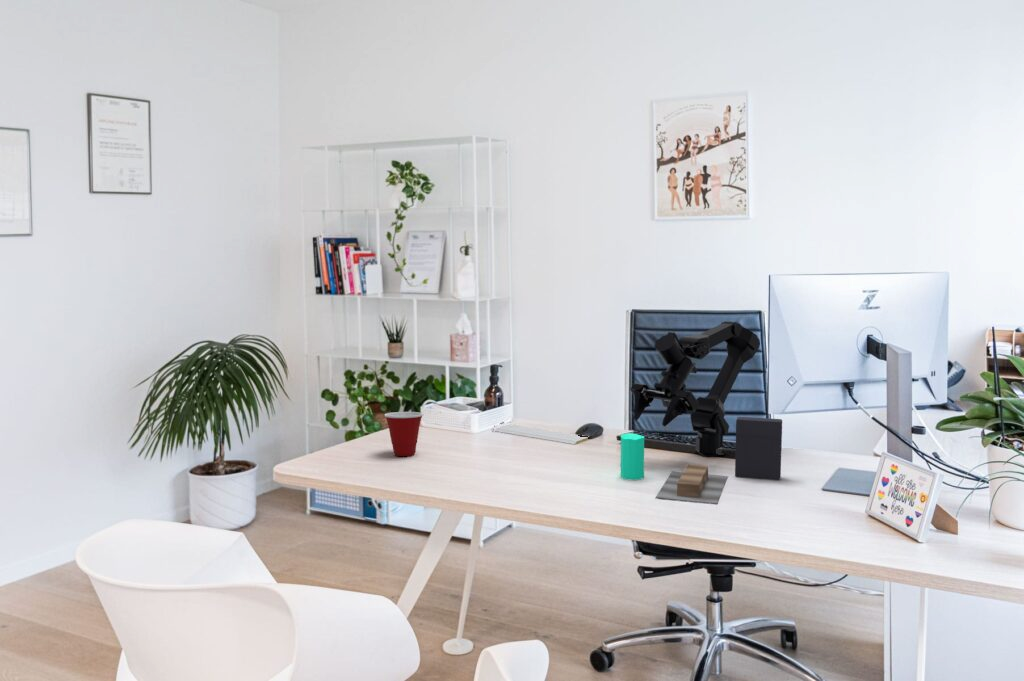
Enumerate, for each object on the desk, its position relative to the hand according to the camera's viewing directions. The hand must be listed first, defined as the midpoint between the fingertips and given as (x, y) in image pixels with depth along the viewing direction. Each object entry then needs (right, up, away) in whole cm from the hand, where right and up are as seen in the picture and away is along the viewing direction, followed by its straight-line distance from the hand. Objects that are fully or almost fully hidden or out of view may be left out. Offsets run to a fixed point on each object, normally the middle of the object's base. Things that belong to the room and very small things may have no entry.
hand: (649, 422), depth 225 cm
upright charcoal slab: (+27, -14, -4) cm, 30 cm away
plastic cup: (-66, -11, +21) cm, 70 cm away
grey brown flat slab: (+9, -14, -13) cm, 21 cm away
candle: (-5, -14, -3) cm, 15 cm away
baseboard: (-27, -9, +43) cm, 52 cm away
